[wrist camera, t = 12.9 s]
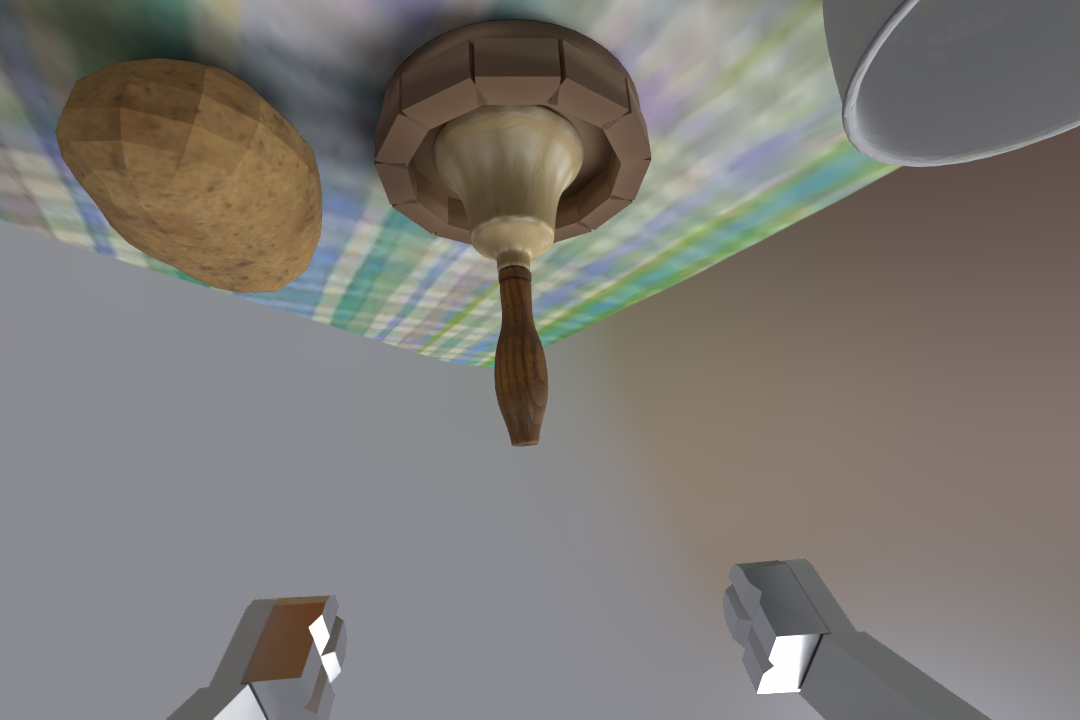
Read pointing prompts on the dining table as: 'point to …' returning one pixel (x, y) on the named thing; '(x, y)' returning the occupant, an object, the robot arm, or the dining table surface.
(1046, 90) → the teacup
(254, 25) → the dining table surface
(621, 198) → the tray
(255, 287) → the potato
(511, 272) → the hand bell
